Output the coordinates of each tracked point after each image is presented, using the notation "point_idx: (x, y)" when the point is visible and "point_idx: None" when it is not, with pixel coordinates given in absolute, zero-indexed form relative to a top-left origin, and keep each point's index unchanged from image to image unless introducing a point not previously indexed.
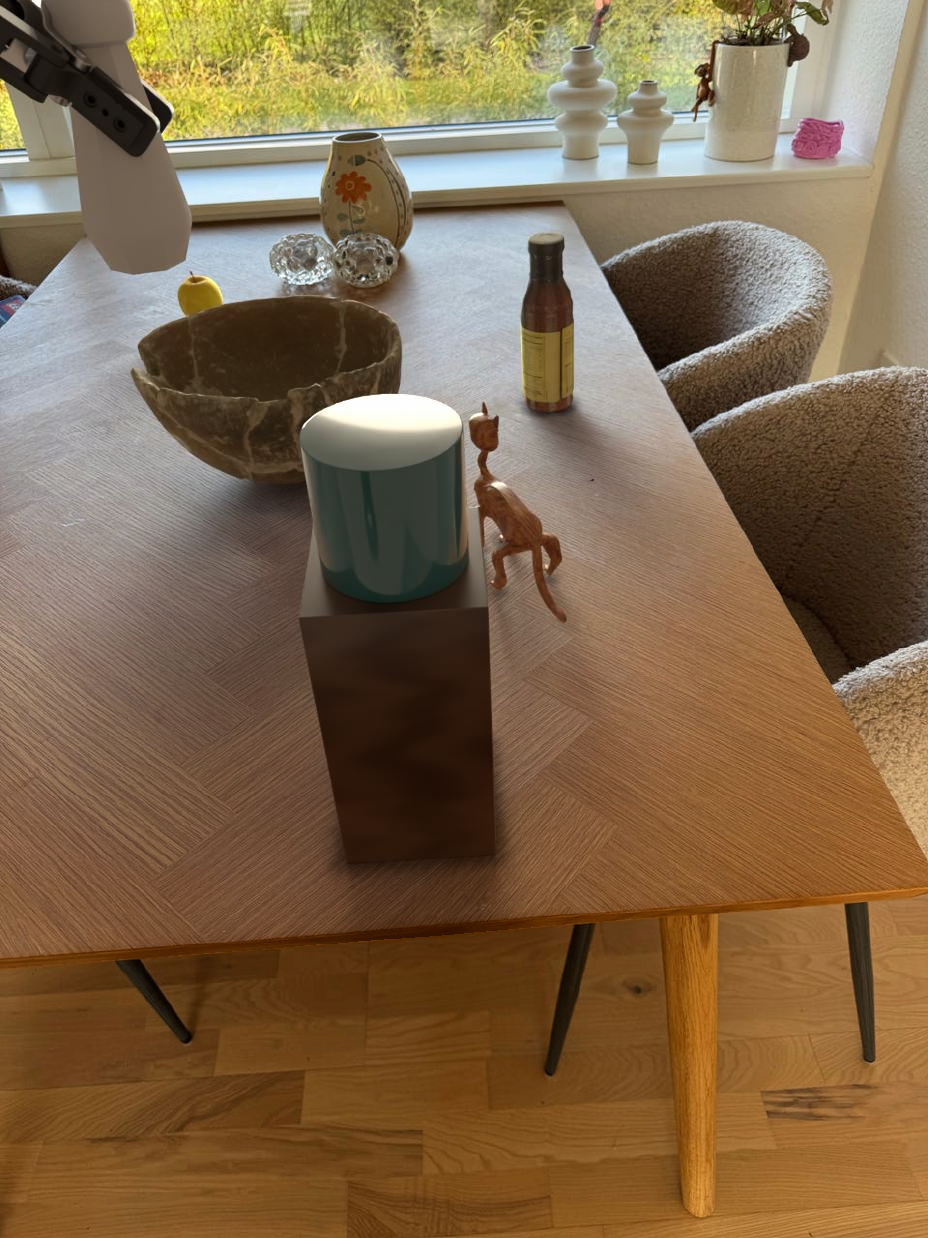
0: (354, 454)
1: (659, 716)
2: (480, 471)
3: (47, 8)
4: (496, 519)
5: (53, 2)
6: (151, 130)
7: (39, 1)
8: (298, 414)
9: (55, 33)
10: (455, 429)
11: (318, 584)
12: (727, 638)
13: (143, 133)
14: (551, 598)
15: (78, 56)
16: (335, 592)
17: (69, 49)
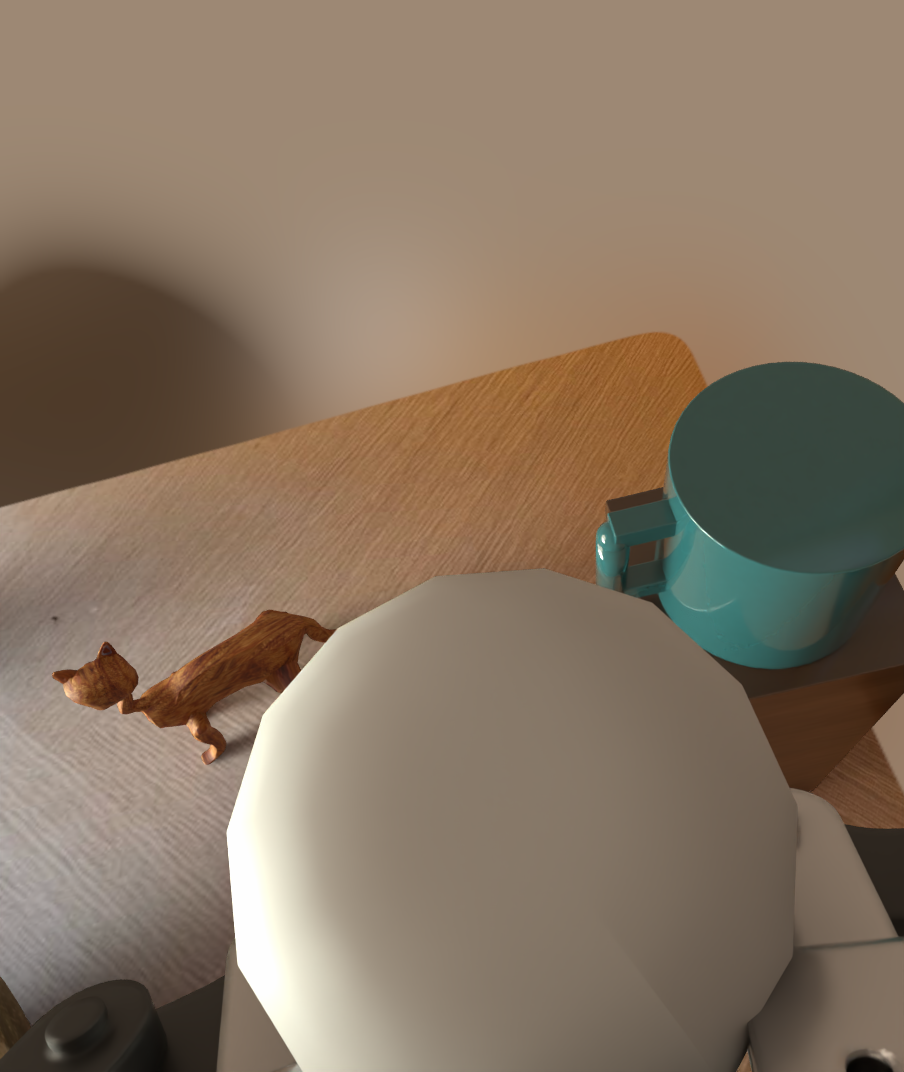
0: (892, 472)
1: (524, 509)
2: (140, 711)
3: (795, 968)
4: (229, 689)
5: (791, 900)
6: None
7: (826, 1013)
8: (3, 1050)
9: (837, 919)
10: (770, 370)
11: (853, 653)
12: (393, 455)
13: None
14: None
15: (811, 815)
16: (865, 624)
17: (847, 838)
